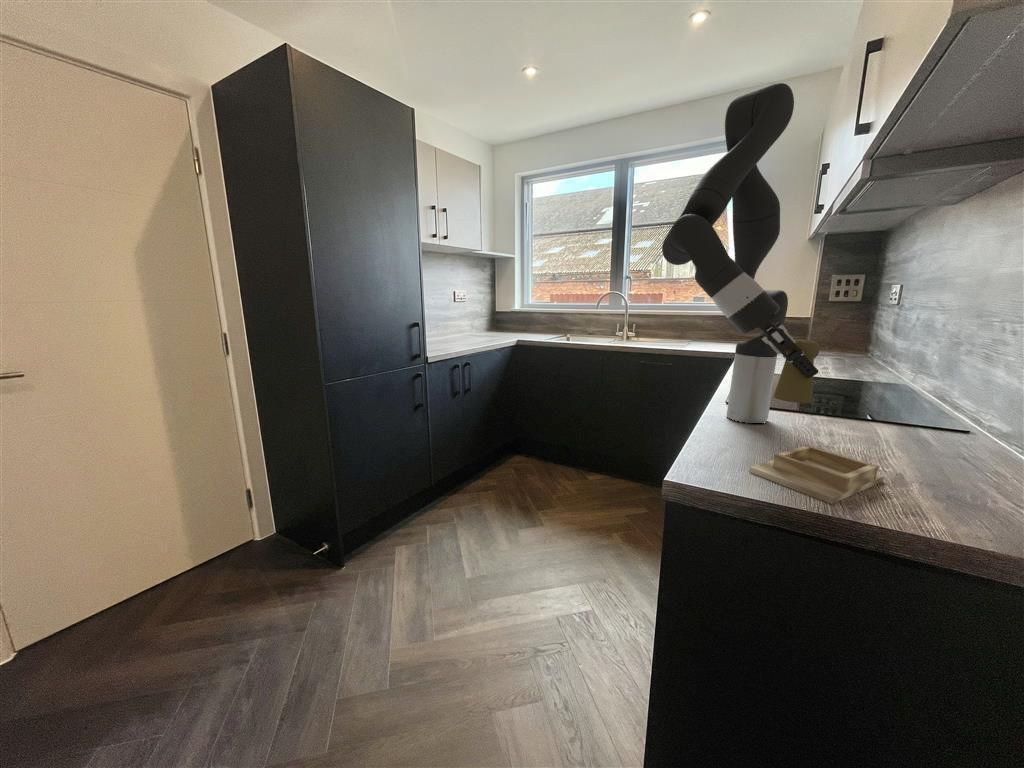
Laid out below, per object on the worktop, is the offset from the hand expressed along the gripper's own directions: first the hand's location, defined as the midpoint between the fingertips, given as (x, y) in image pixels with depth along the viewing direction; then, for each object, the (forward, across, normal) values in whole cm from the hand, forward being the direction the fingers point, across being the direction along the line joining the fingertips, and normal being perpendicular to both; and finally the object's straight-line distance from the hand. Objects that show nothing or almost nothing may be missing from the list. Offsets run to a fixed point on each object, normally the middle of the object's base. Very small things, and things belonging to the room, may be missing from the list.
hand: (810, 372), depth 73 cm
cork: (+2, 0, +5) cm, 6 cm away
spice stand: (+15, -4, +11) cm, 19 cm away
